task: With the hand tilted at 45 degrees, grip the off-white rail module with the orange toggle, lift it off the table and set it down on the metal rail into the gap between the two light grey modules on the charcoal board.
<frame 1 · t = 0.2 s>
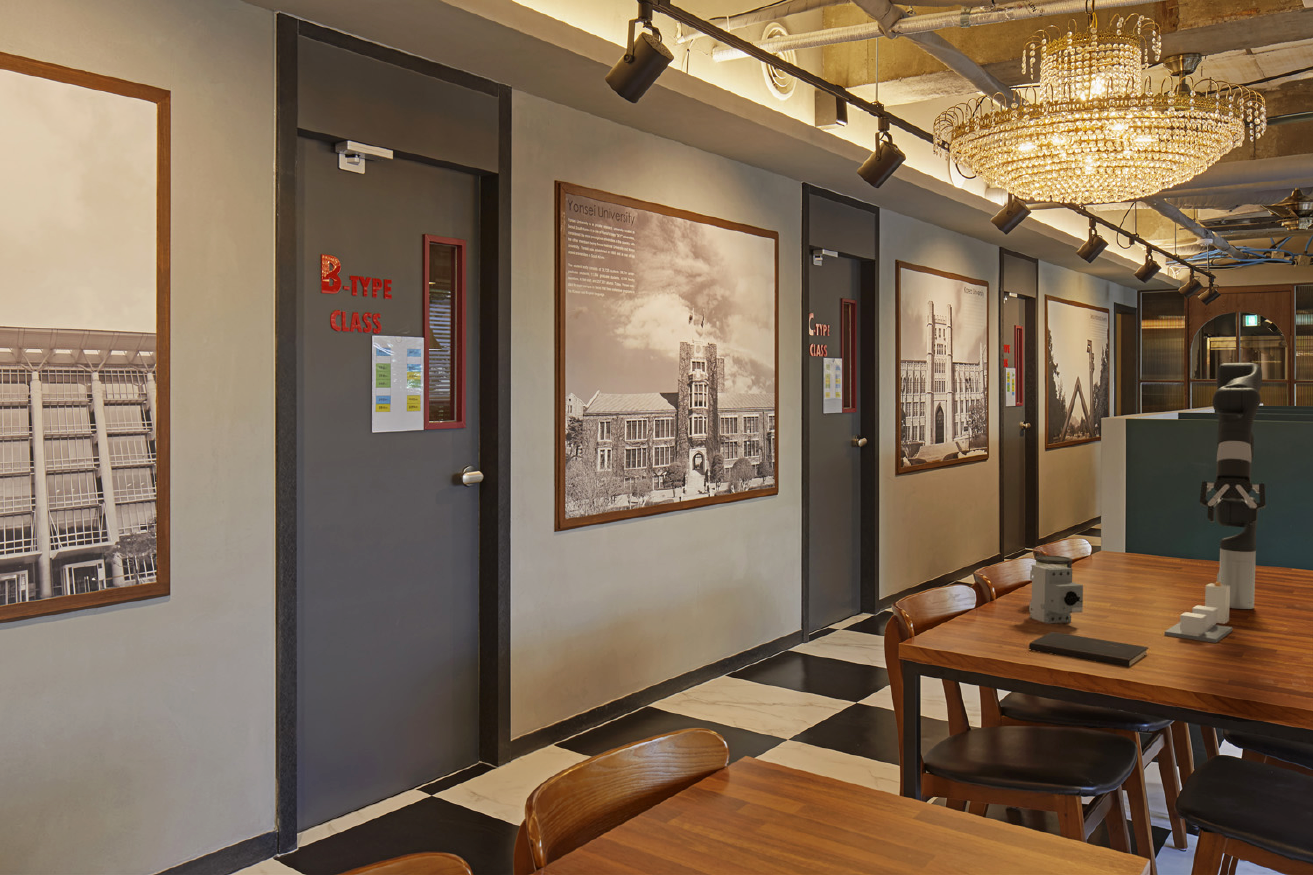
hand: (1231, 523, 242), 31 cm above the table, tool tilted 20°, fingers open, 8 cm apart
hardcover book: (1088, 655, 236), on the table
rail module: (1216, 620, 271), on the table
circuit breaker: (1057, 622, 268), on the table
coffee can: (1052, 604, 292), on the table
rail board: (1198, 632, 256), on the table
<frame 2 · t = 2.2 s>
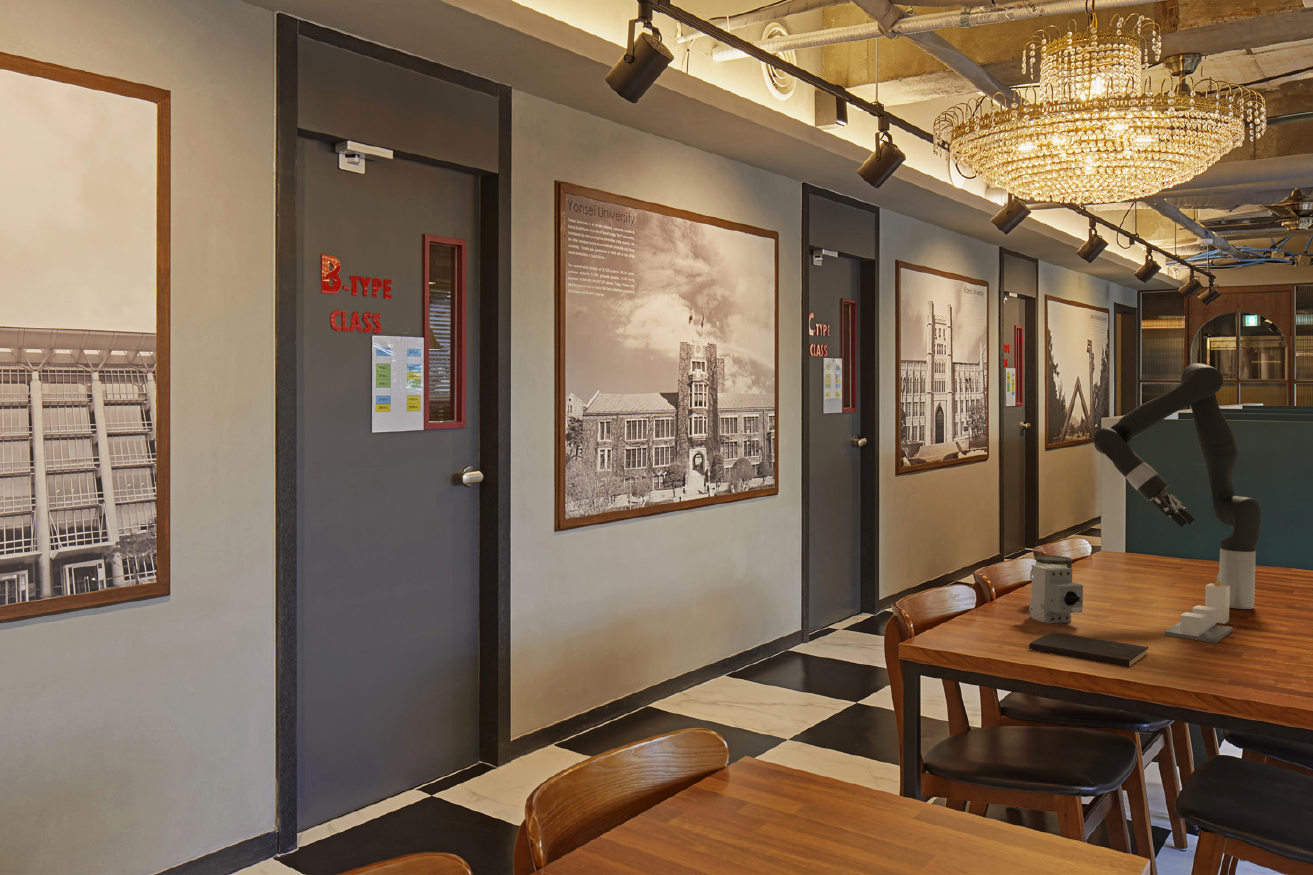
hand: (1188, 523, 277), 26 cm above the table, tool tilted 45°, fingers open, 8 cm apart
nothing on the table moved.
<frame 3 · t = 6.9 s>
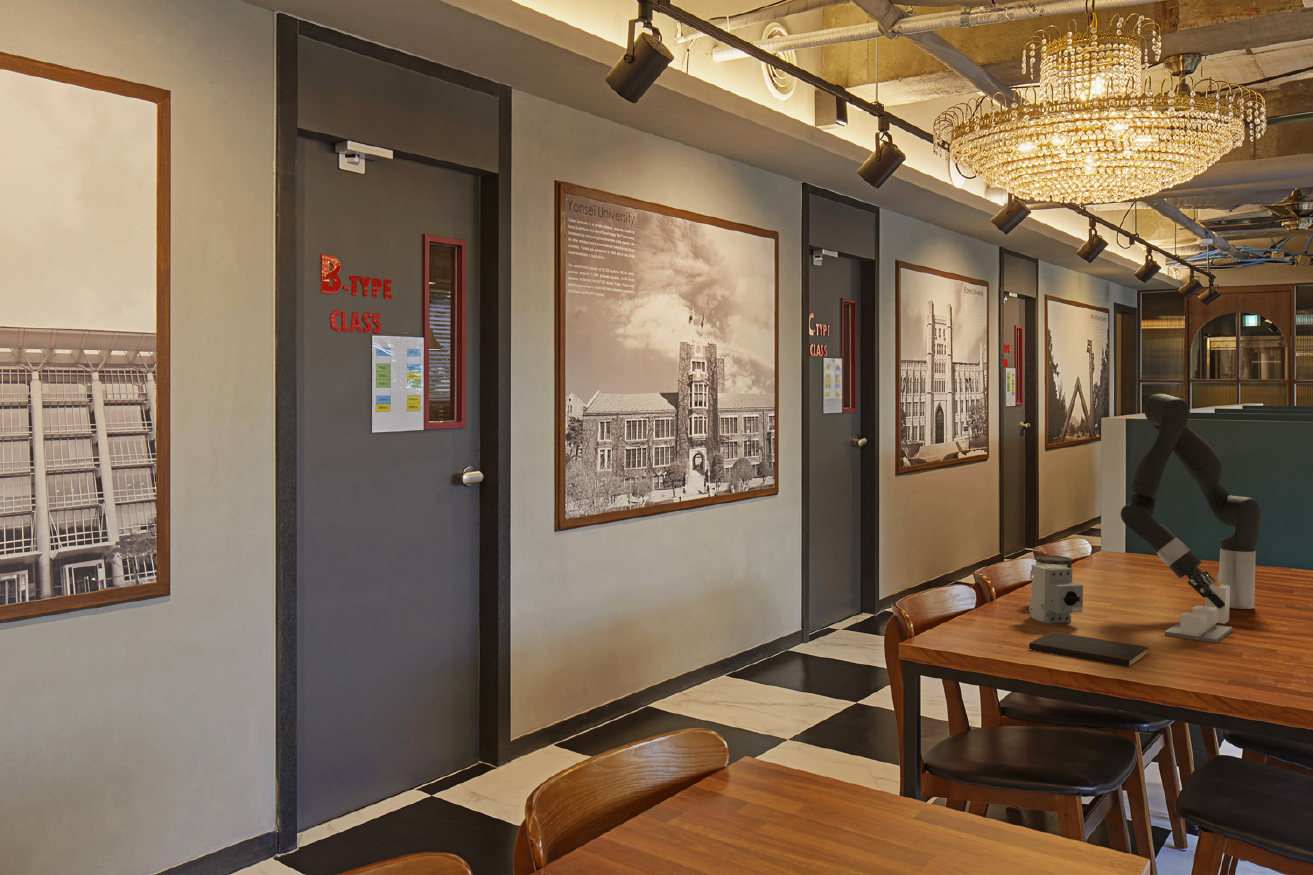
hand: (1224, 605, 269), 5 cm above the table, tool tilted 45°, fingers closed on rail module, 5 cm apart
rail module: (1216, 620, 271), on the table, touching gripper
everything else where it was.
when the fingers open (8 cm above the table, at t = 13.0 s): rail module drops 2 cm, resting on rail board.
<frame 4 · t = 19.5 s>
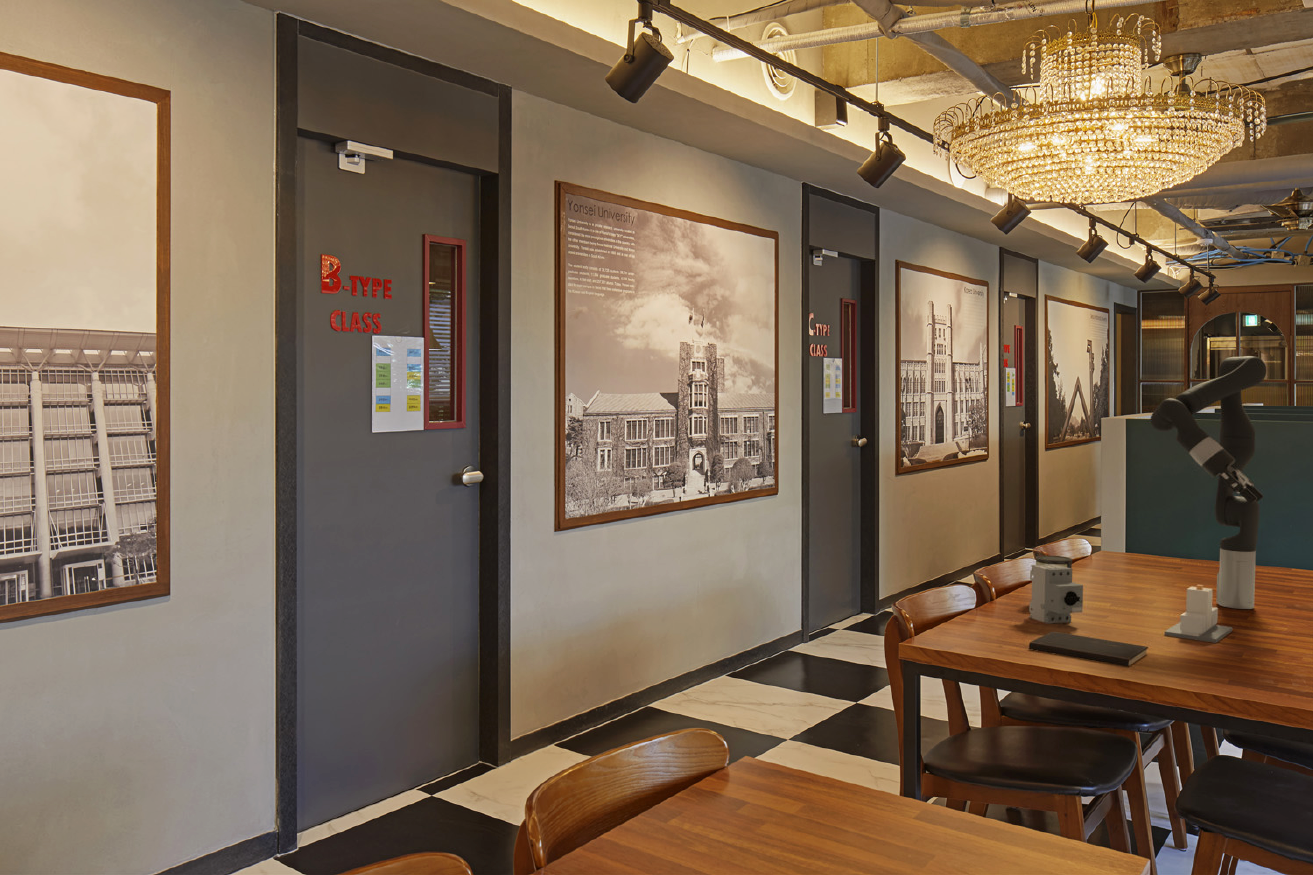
hand: (1257, 500, 265), 35 cm above the table, tool tilted 45°, fingers open, 8 cm apart
rail module: (1198, 626, 256), point 2 cm above the table, touching rail board
everything else where it was.
at the end: rail module 0.1 cm off-centre on the rail board, point 1.8 cm above the rail board's base; rail module tilted 0°; the gripper is holding nothing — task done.
